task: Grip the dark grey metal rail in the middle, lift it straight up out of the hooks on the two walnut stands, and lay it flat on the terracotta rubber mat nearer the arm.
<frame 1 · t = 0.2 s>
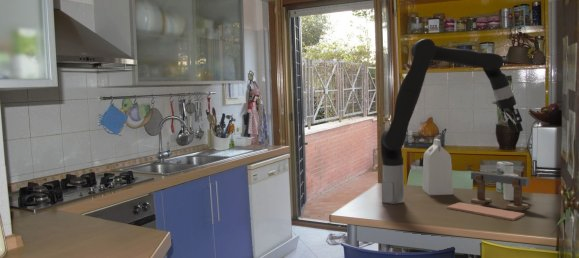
hand: (516, 130, 215), 31 cm above the table, tool tilted 20°, fingers open, 8 cm apart
stand right: (517, 207, 200), on the table
rail: (498, 181, 205), point 10 cm above the table, touching stand left, stand right
cup: (510, 199, 215), on the table
stand left: (481, 201, 212), on the table
syrup box: (504, 192, 229), on the table
milk: (437, 192, 234), on the table
mat: (484, 211, 196), on the table
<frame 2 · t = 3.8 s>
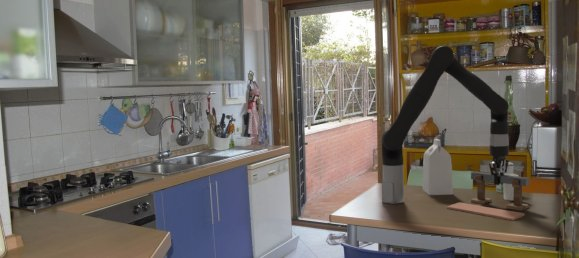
hand: (498, 183, 205), 9 cm above the table, tool pointing down, fingers closed on rail, 3 cm apart
rail: (498, 181, 205), point 10 cm above the table, touching gripper, stand left
everything else where it was.
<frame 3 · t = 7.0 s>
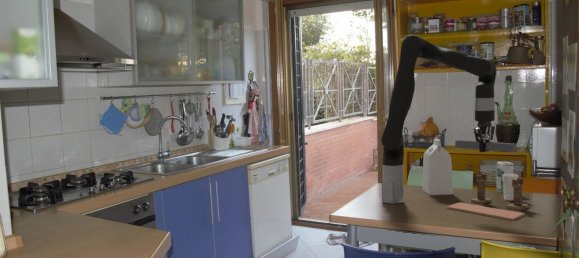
hand: (484, 151, 194), 25 cm above the table, tool pointing down, fingers closed on rail, 3 cm apart
rail: (484, 149, 194), point 26 cm above the table, touching gripper
everything else where it was.
when the fingers open (2 cm above the table, at t = 10.3 s): rail drops 2 cm, resting on mat.
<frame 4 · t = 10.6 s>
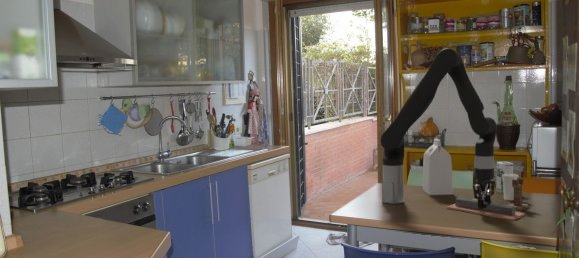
hand: (484, 207, 196), 2 cm above the table, tool pointing down, fingers open, 5 cm apart
rail: (484, 209, 196), point 1 cm above the table, touching mat
everything else where it was.
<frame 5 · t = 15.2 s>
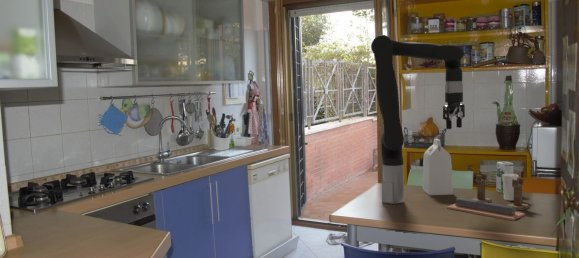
hand: (454, 128, 212), 33 cm above the table, tool pointing down, fingers open, 8 cm apart
nothing on the table moved.
at the end: rail inside the target area on the mat (0.1 cm from its centre), point 0.8 cm above the mat's base; rail tilted 0°; the gripper is holding nothing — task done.
